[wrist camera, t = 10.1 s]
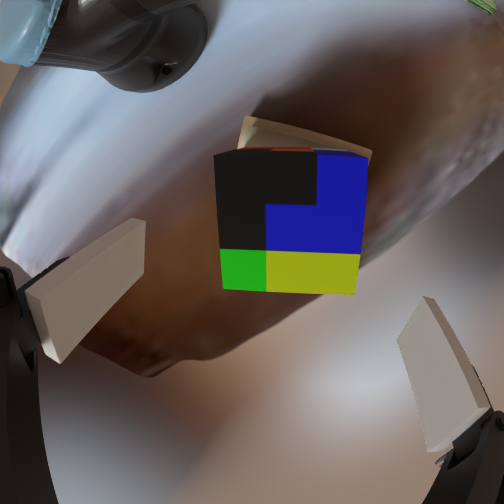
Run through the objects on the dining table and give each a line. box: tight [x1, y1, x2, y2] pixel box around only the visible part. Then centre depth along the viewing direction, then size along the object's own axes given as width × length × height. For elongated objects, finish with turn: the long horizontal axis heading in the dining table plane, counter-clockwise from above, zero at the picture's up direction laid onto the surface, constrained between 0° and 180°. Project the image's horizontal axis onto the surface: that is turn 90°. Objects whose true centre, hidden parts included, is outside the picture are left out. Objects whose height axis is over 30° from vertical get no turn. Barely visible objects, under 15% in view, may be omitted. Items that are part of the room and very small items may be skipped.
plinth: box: [237, 116, 373, 166], centre depth 30 cm, size 14×14×5 cm
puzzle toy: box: [214, 147, 368, 295], centre depth 23 cm, size 10×10×10 cm
